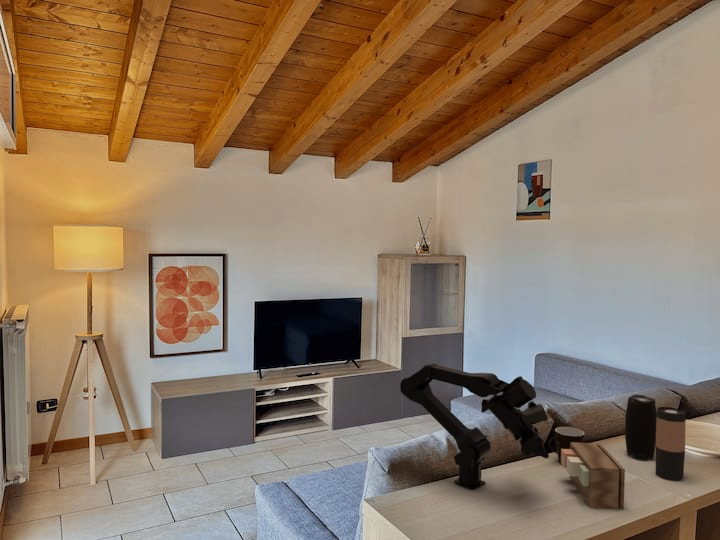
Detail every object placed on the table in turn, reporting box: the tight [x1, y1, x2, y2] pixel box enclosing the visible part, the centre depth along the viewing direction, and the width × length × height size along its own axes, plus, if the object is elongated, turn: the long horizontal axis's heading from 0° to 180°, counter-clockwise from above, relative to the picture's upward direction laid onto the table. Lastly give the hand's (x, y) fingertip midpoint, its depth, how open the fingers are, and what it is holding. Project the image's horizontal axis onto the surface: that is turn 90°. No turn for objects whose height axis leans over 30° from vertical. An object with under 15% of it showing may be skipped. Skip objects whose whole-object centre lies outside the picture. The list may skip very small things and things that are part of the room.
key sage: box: [579, 465, 590, 486], centre depth 143 cm, size 6×4×4 cm, turn 84°
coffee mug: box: [548, 426, 585, 465], centre depth 171 cm, size 12×9×10 cm
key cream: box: [566, 457, 583, 477], centre depth 150 cm, size 6×4×4 cm, turn 84°
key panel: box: [569, 442, 626, 510], centre depth 149 cm, size 8×19×11 cm, turn 174°
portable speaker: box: [624, 394, 657, 461], centre depth 176 cm, size 9×9×20 cm
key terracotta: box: [561, 449, 576, 469], centre depth 156 cm, size 6×4×4 cm, turn 84°
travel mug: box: [655, 406, 687, 482], centre depth 161 cm, size 8×8×20 cm
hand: (547, 457), depth 147 cm, fingers closed
